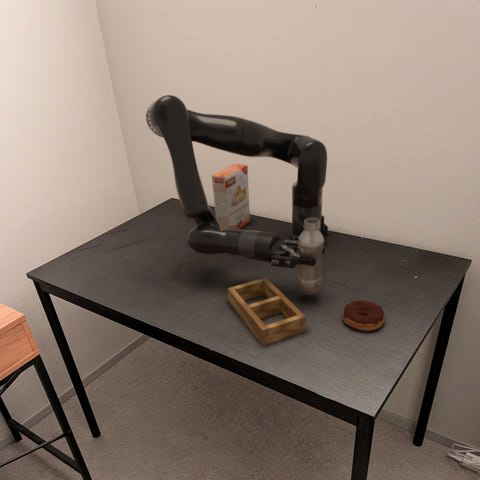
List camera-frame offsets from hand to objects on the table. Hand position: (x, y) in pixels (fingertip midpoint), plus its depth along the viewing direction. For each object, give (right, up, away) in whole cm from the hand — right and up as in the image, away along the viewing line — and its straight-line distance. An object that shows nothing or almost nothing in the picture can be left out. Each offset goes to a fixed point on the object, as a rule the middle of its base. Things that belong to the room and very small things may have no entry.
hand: (319, 255), depth 113 cm
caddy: (-13, -15, +4) cm, 20 cm away
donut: (+11, -16, -1) cm, 20 cm away
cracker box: (-22, +17, +50) cm, 57 cm away
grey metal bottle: (-1, -9, +7) cm, 11 cm away
